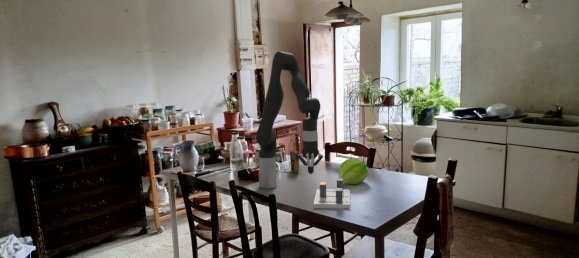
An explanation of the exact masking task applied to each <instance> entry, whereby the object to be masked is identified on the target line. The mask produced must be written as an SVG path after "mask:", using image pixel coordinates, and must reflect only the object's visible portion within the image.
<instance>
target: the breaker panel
mask: <svg viewBox="0 0 579 258" xmlns="http://www.w3.org/2000/svg"><path fill="white" fill-rule="evenodd" d="M350 191H351V190H350V189H343V192H342V203H336V188H335V189H332V188H331V189H328V188H326V197H320V188H317V189H316V192H315V197H314V201H313V208H314V209H344V208H351V197H350V196H351V195H350V193H351V192H350Z"/></svg>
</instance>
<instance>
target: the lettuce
mask: <svg viewBox="0 0 579 258" xmlns="http://www.w3.org/2000/svg"><path fill="white" fill-rule="evenodd" d="M368 175H369V171H368V166H367V164H366V163H365V162H364V161H363V160H361V159H359V158H348V159H345V160H344V161H343V162H341V163H340V165H339V168H338V177H337V178H343V184H347V185H348V184H349V185H356V184H357V185H358V184H360V183H362V182H363V181H365V179H367V176H368Z"/></svg>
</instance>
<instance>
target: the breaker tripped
mask: <svg viewBox="0 0 579 258" xmlns="http://www.w3.org/2000/svg"><path fill="white" fill-rule="evenodd" d="M319 189H320V197H326V189H327V182H326V181H323V182H322V181H320V182H319Z"/></svg>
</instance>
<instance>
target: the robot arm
mask: <svg viewBox="0 0 579 258" xmlns="http://www.w3.org/2000/svg"><path fill="white" fill-rule="evenodd" d="M270 70H271V71H270V75H269V76H270V77H269V83H268V87H267V92H266V95H265V98H264V104H263V109H262V115H261V119H260V123H259V126H258V128H257V131H256V135H255V140H256V142H257V144H258V145H259V146H260V149H259V150H258V162H259V163H258V166H259V169H258V186H259V187H258V188H260V189H268V190H269V189H273V188H276V187H277V185H278V184H277V181H278V180H277V162H276V161H277V159H276V153H277V132H276V131H275V129H274V128H273V127H274V123H275V121H276V119H277V117H278V115H279V113H280V110H281V109H282V105H283V101H284V98H285V97H284V96H285V95H284V90H283V86H282V83H281V76H282V75H281V74H282V71H288V72H289V74H290V76H291V81H290V86H291V90H292V91H293V93H294V94H295V97H296V100H297V105H298V106H297V108H298V109H299V111H300V113H301V114H309V115H308V116H307V117H305V118H303V119H302V136H301V140H302V151H301V153H299V155H298V158H299V161H300V162H301V163H302V164H303V165H304V166H306V167H307V173H308V174H309V175H313V173H314V172H315V167H316V166H318V164H319V163H320V162H321V160H322V159H323V158H324V154H322V153H320V150H319V136H318V135H319V134H318V119H319V115H320V111H321V102H320V100H319V99H318V98H316V97H312V98H309V97H310V95H311V92H310V89H309V88H308V85H307V84H306V82H305V79H304V78H303V76H302V73H301V69H300V66H299V63H298V61H297V58H296V56H295V55H294V54H293V53H290V52H286V51H279V50H278V51H277V52H275V54H274V56H273V59H272V63H271V69H270ZM316 158H317V159H316ZM315 159H316V161H315Z"/></svg>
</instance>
